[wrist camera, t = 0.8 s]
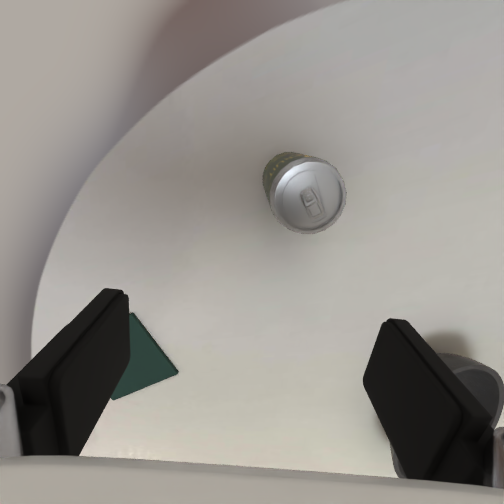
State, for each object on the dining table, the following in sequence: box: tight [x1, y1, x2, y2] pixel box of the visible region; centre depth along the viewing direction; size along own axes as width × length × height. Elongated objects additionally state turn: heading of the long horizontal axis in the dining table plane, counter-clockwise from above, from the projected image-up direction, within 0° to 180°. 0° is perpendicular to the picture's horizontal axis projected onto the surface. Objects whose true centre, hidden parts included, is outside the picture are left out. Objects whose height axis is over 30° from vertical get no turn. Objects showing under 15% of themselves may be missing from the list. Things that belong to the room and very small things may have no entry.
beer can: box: [263, 152, 347, 234], centre depth 25 cm, size 5×5×12 cm
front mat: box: [110, 313, 178, 400], centre depth 38 cm, size 11×11×1 cm
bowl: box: [390, 353, 504, 479], centre depth 39 cm, size 12×22×6 cm, turn 174°
